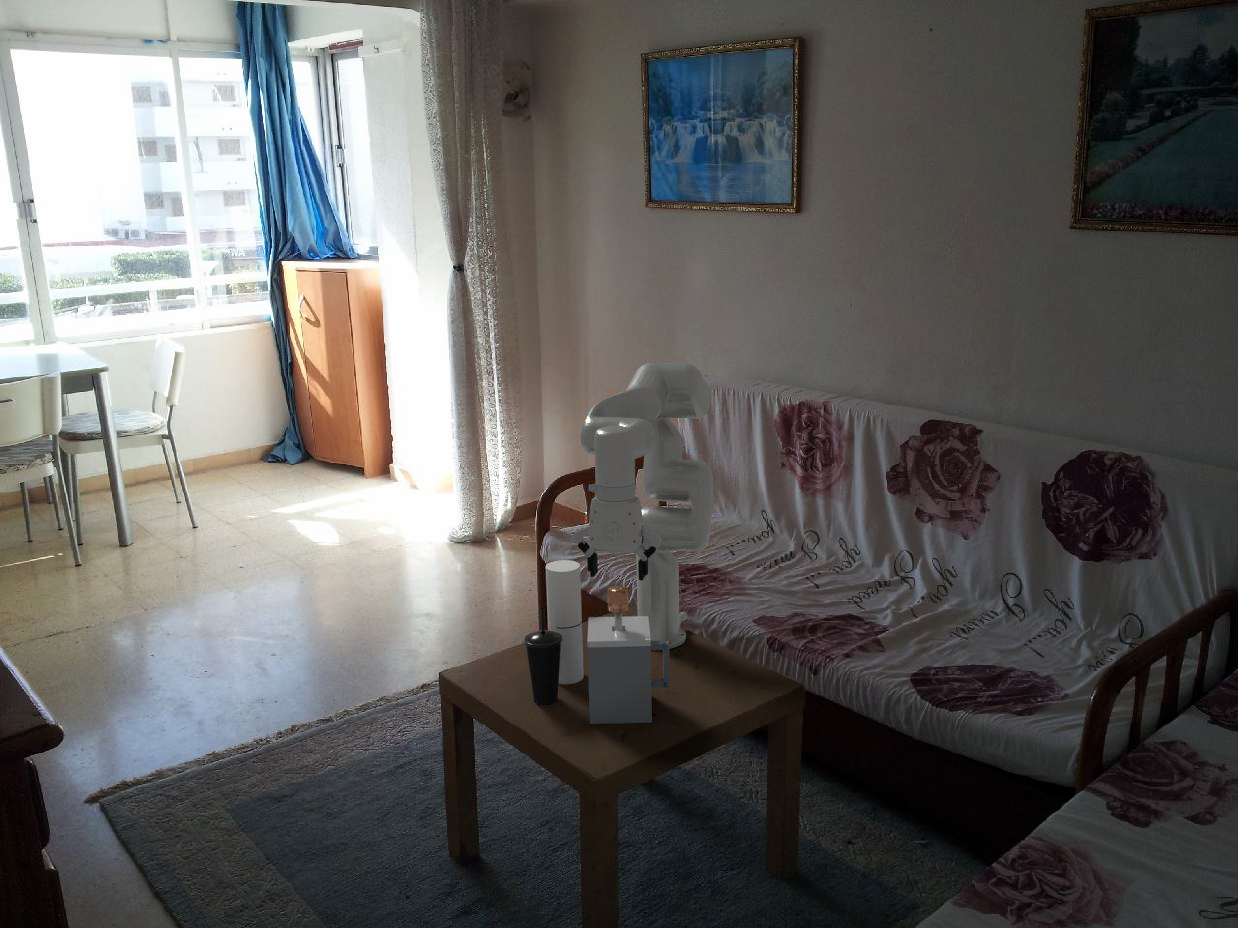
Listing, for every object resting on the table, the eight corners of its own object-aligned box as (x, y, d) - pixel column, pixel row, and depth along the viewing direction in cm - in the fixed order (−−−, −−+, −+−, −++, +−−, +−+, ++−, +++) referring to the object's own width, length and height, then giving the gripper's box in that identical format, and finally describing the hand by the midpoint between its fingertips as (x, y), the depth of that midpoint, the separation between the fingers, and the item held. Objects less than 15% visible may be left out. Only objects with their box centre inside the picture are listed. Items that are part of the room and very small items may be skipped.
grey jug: (589, 723, 207) (587, 641, 203) (590, 695, 218) (588, 617, 214) (671, 721, 207) (670, 639, 203) (668, 693, 218) (667, 615, 214)
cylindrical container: (579, 685, 223) (575, 572, 217) (546, 682, 225) (541, 570, 219) (587, 670, 230) (583, 560, 224) (554, 668, 231) (550, 559, 225)
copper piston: (597, 710, 208) (594, 598, 202) (597, 689, 216) (594, 581, 211) (643, 709, 208) (641, 597, 202) (642, 688, 216) (640, 580, 211)
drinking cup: (538, 712, 212) (533, 618, 207) (520, 697, 218) (516, 606, 213) (571, 702, 216) (568, 609, 211) (553, 688, 222) (549, 598, 217)
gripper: (566, 495, 200) (569, 580, 205) (656, 499, 196) (657, 586, 201) (577, 484, 207) (580, 566, 212) (664, 488, 203) (665, 572, 208)
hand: (618, 576), depth 206 cm, fingers open, 9 cm apart
